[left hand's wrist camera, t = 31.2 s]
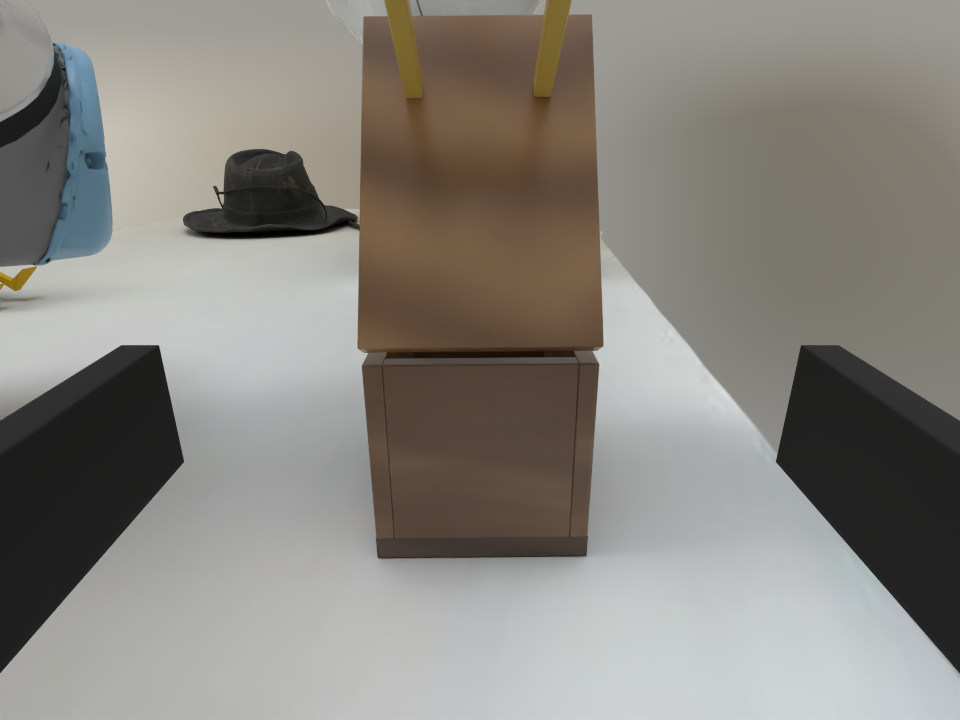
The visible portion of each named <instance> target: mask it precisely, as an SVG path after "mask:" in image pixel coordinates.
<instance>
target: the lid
mask: <svg viewBox="0 0 960 720" xmlns="http://www.w3.org/2000/svg"><path fill="white" fill-rule="evenodd" d="M384 2H385V7H386V11H387V16H364V17H363V60H362V119H361V178H360V237H359V297H358V349H359V350H361V351H362V352H364V353H389V352H504V351H597V350H599V349H600V348H602V347H603V318H602V290H601V262H600V233H599V205H598V176H597V148H596V119H595V91H594V63H593V34H592V15H569V10H570V5H571V0H546V5H545V11H544V15H458V16H412V12H411V5H410V0H384Z"/></svg>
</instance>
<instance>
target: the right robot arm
mask: <svg viewBox="0 0 960 720" xmlns="http://www.w3.org/2000/svg"><path fill="white" fill-rule="evenodd" d="M325 1H326V3H327V5H328V7H329V9H330V11H331V12H332V14H333V15H334V17H335V18H336V19H337V20H338V21H339V23H340V24H341V25H342V26H344V27H345V28H346V29H347V30H349V31H350V32H351V33H352V34H353V35H354V36H355V37H356V38H357V39H358V40H359V41H360V42H361V44H362V45H363V17H364V16H387V11H386V7H385V2H384V0H325ZM541 2H542V0H410V5H411V12H412V16H458V15H533V14H534V12H535V11H536V10H537V8H538V7H539V5H540V4H541ZM343 216H344V215H343ZM346 223H347V224H349V225H351V226H353V227H355V228H358V229H360V225H358V224H356V223H353V222H351V221H349V220H347V221H346Z"/></svg>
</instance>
